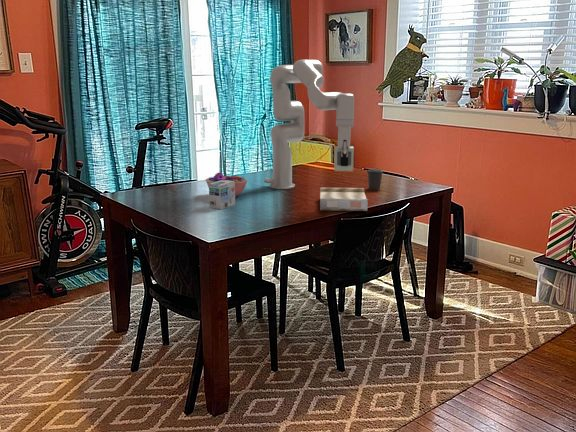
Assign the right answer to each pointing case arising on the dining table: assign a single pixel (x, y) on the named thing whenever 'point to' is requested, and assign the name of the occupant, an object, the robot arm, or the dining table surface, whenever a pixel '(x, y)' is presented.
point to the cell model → (239, 181)
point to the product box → (338, 159)
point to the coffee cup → (374, 178)
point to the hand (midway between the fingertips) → (343, 164)
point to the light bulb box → (222, 194)
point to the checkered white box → (343, 199)
